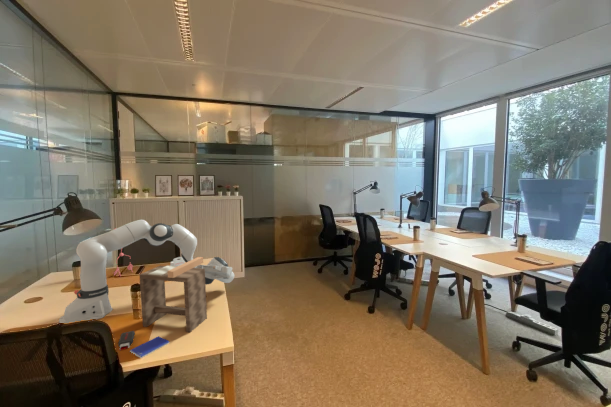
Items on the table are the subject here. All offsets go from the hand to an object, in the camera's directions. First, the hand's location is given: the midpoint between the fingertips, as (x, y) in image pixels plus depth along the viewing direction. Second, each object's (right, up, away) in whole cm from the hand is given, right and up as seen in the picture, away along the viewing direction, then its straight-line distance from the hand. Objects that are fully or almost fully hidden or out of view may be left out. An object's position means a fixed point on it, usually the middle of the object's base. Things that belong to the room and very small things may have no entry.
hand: (206, 266), depth 164 cm
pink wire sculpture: (-85, -18, +59) cm, 104 cm away
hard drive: (-11, -27, -39) cm, 49 cm away
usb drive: (-24, -26, -35) cm, 50 cm away
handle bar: (-4, +2, -18) cm, 18 cm away
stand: (-10, -24, -18) cm, 31 cm away
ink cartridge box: (-37, -18, +49) cm, 64 cm away
